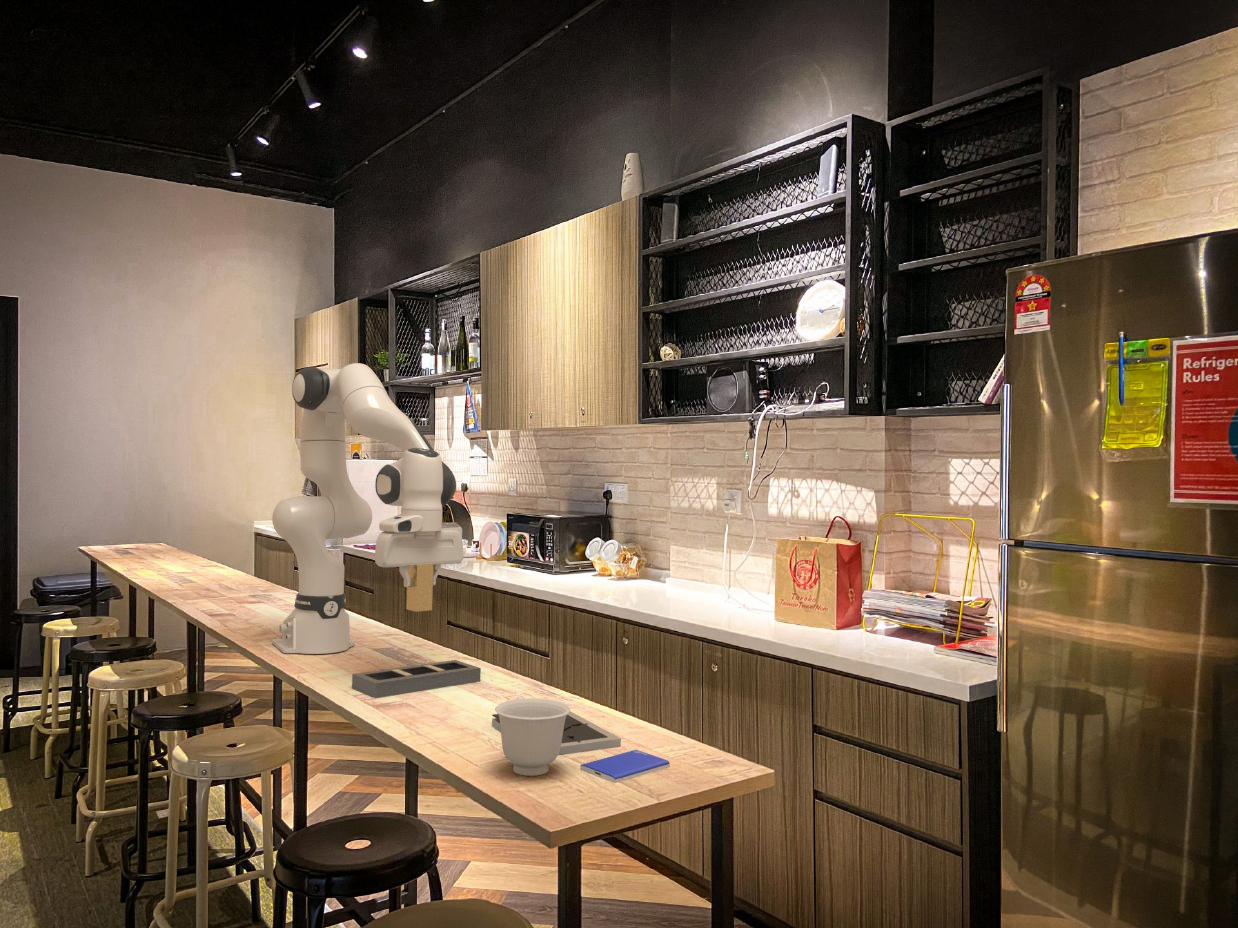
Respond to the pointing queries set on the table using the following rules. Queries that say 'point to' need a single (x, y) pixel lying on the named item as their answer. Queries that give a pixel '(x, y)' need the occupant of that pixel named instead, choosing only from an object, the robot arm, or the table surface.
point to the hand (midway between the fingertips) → (419, 586)
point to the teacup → (531, 733)
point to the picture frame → (579, 735)
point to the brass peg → (420, 588)
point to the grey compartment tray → (415, 678)
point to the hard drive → (625, 766)
